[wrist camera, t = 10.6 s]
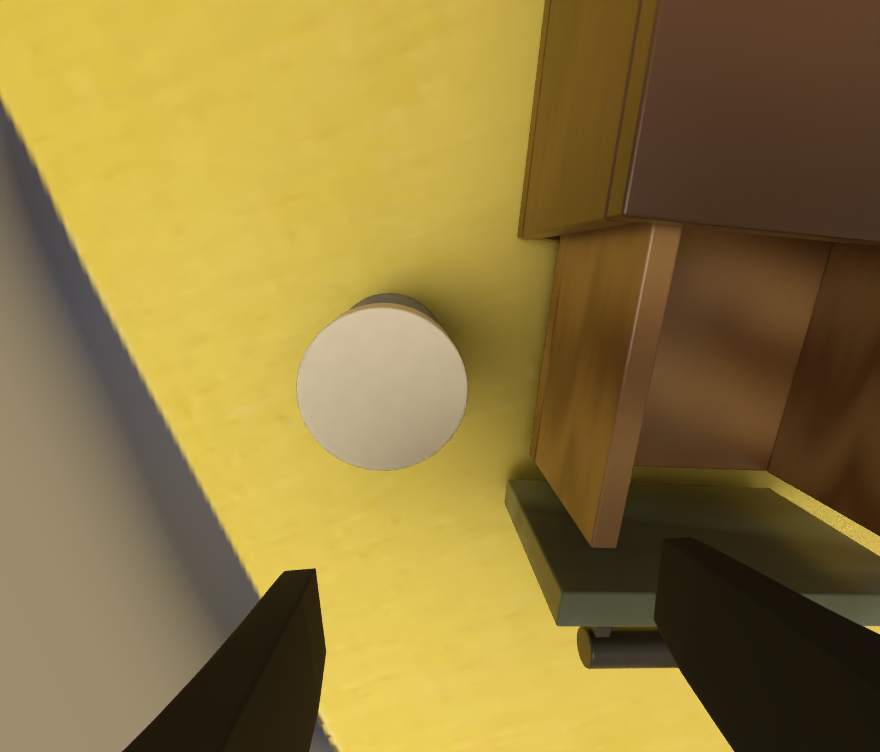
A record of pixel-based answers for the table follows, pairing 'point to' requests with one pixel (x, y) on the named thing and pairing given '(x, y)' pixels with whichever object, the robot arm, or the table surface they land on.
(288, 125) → the table surface
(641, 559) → the drawer
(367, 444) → the medicine bottle
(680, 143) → the cabinet
